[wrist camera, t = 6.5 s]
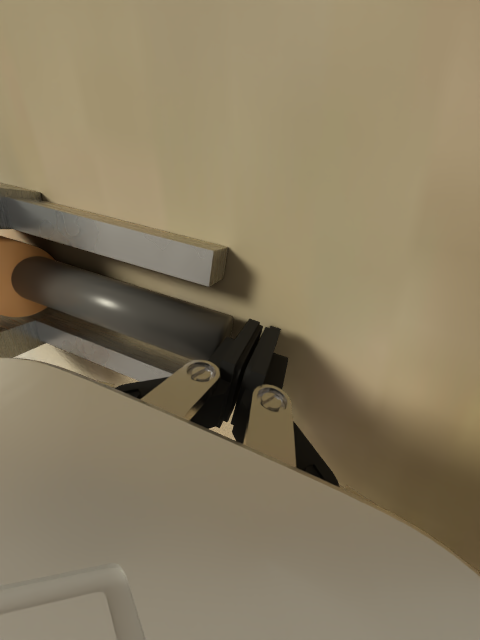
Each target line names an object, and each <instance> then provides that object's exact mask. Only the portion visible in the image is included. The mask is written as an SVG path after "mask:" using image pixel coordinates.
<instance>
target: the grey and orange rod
mask: <svg viewBox="0 0 480 640" xmlns="http://www.w3.org/2000/svg"><path fill="white" fill-rule="evenodd" d="M47 307H50V308H52V309H55V310H58V311H61V312H63V313H66V314H69V315H71V316H74V317H77V318H80V319H82V320H85V321H88V322H90V323H93V324H96V325H99V326H101V327H104V328H107V329H109V330H112V331H115V332H118V333H120V334H123V335H126V336H129V337H131V338H134V339H137V340H139V341H142V342H145V343H148V344H150V345H153V346H156V347H158V348H161V349H164V350H167V351H169V352H172V353H175V354H177V355H180V356H183V357H186V358H188V359H191V360H206V361H208V360H209V358H210V357H211V356H212V354H213V353H214V352H215V351H216V349H217V348H218V347H219V346H220V344H221V343H222V342H223V341H224V339H225V338H226V337H229V338H231V334H232V329H233V317H232V316H230V315H227V314H224V313H221V312H217V311H214V310H211V309H208V308H205V307H201V306H198V305H195V304H192V303H189V302H186V301H182V300H179V299H176V298H173V297H170V296H166V295H163V294H160V293H157V292H154V291H150V290H147V289H144V288H141V287H138V286H134V285H131V284H128V283H125V282H122V281H119V280H115V279H112V278H109V277H106V276H103V275H99V274H96V273H93V272H90V271H87V270H83V269H80V268H77V267H74V266H71V265H68V264H64V263H61V262H58V261H55V260H54V259H53V257H52V256H51V255H49V254H48V253H47V252H45V251H44V250H42V249H40V248H38V247H35V246H32V245H29V244H26V243H23V242H19V241H16V240H13V239H9V238H6V237H3V236H0V315H3V316H7V317H25V316H30V315H33V314H36V313H38V312H40V311H42V310H44V309H45V308H47Z"/></svg>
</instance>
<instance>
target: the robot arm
mask: <svg viewBox="0 0 480 640" xmlns="http://www.w3.org/2000/svg"><path fill="white" fill-rule="evenodd" d="M259 324H260V322H258V321H255V320H252V319H249V320H248V322H247V323H246V325H245V326H244V328H243V329H242V330H241V332H240V333H239V335H238V336H237V338H236V339H232V338H229V337H226V338H225V339H224V341H223V342H222V343H221V344H220V346H219V347H218V348H217V349H216V351H215V352H214V353H213V354H212V356H211V357H210V358H209V360H208V361H206V360H194V361H190V362H189V363H187V364H185V365H184V366H183V367H182V368H180V369H179V370H178V371H176V372H175V373H174V374H172V375H171V376H170V377H164V378H158V379H152V380H146V381H141V382H135V383H129V384H124V385H121V386H118V387H116V388H114V384H111V383H106V382H101V381H96V380H93V379H91V378H88V377H86V376H83V375H81V374H78V373H75V372H73V371H70V370H67V369H65V368H62V367H59V366H55V365H52V364H48V363H45V362H40V361H35V360H29V359H20V358H0V640H480V573H479V572H478V571H476V570H475V569H474V568H473V567H472V566H470V565H469V564H468V563H467V562H465V561H464V560H463V559H462V558H460V557H459V556H458V555H456V554H455V553H454V552H453V551H451V550H450V549H449V548H448V547H446V546H445V545H443V544H442V543H440V542H439V541H437V540H436V539H434V538H433V537H431V536H430V535H429V534H427V533H426V532H424V531H423V530H421V529H420V528H418V527H416V526H415V525H413V524H411V523H409V522H408V521H406V520H404V519H402V518H401V517H399V516H397V515H396V514H394V513H392V512H390V511H387V510H385V509H383V508H381V507H379V506H378V505H376V504H375V503H373V502H372V501H370V500H369V499H367V498H366V497H364V496H363V495H361V494H360V493H358V492H357V491H355V490H354V489H352V488H351V487H349V486H348V485H347V486H346V487H345V488H344V487H342V486H341V485H339V484H338V481H337V479H336V477H335V476H334V474H333V472H332V471H331V470H330V468H329V467H328V466H327V464H326V463H325V462H324V460H323V459H322V458H321V457H320V455H319V454H318V453H317V451H316V450H315V449H314V447H313V446H312V445H311V443H310V442H309V441H308V440H307V438H306V437H305V436H304V434H303V433H302V432H301V430H300V429H299V428H298V426H297V425H296V424H295V423H294V421H293V414H292V403H291V399H290V398H289V396H288V395H287V394H286V393H285V392H284V391H283V390H282V387H283V382H284V377H285V372H286V367H287V362H288V358H287V357H284V356H281V355H278V354H276V353H273V352H274V349H275V346H276V343H277V340H278V336H279V333H280V330H281V329H279V328H276V327H273V326H270V328H267V327H266V328H265V330H264V332H263V334H262V336H261V338H260V335H261V332H262V328H263V326H261V325H259ZM259 339H260V340H259ZM235 404H236V406H235ZM234 406H235V410H234V413H233V417H232V421H231V424H232V425H234V427H233V430H232V433H233V435H234V437H235V439H236V441H235V440H232V439H230V438H228V437H225V436H223V435H221V434H219V433H216V432H214V431H212V430H209V428H212V427H215V426H216V427H218V428H220V427H221V424H222V422H223V421H225V422H228V420H229V418H230V415H231V413H232V411H233V409H234Z"/></svg>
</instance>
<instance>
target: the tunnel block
mask: <svg viewBox="0 0 480 640" xmlns="http://www.w3.org/2000/svg"><path fill="white" fill-rule="evenodd" d="M0 229H14V230H18V231H21V232H25V233H28V234H31V235H35V236H38V237H42V238H45V239H48V240H52V241H55V242H59V243H62V244H65V245H69V246H72V247H76V248H79V249H82V250H86V251H89V252H93V253H96V254H99V255H103V256H106V257H110V258H113V259H116V260H120V261H123V262H127V263H130V264H133V265H137V266H140V267H144V268H147V269H150V270H154V271H157V272H161V273H164V274H167V275H171V276H174V277H178V278H181V279H184V280H188V281H191V282H194V283H198V284H201V285H205V286H208V287H209V286H211V285H213V284H214V283H216V282H218V281H219V280H221V279H223V276H224V270H225V264H226V258H227V252H228V247H225V246H221V245H217V244H214V243H210V242H206V241H202V240H198V239H194V238H190V237H186V236H182V235H178V234H174V233H170V232H166V231H162V230H158V229H154V228H150V227H146V226H142V225H138V224H134V223H130V222H126V221H122V220H119V219H115V218H111V217H107V216H103V215H99V214H95V213H91V212H87V211H83V210H79V209H75V208H71V207H67V206H63V205H59V204H55V203H51V202H47V201H43V200H42V198H41V193H40V192H36V191H32V190H28V189H24V188H20V187H16V186H12V185H8V184H3V183H0ZM45 343H48V344H50V345H53V346H55V347H57V348H60V349H62V350H65V351H67V352H70V353H72V354H75V355H77V356H79V357H82V358H84V359H87V360H89V361H92V362H94V363H97V364H99V365H101V366H104V367H106V368H109V369H111V370H114V371H116V372H118V373H121V374H123V375H126V376H128V377H131V378H133V379H136V380H138V381H140V382H141V381H146V380H152V379H158V378H164V377H170V376H171V375H172V374H174V373H175V372H176V371H178V370H179V369H180V368H182V367H183V366H184V365H185V364H187V363H189V362H190V361H194V360H191V359H188V358H186V357H183V356H180V355H177V354H175V353H172V352H169V351H167V350H164V349H161V348H158V347H156V346H153V345H150V344H148V343H145V342H142V341H139V340H137V339H134V338H131V337H129V336H126V335H123V334H120V333H118V332H115V331H112V330H109V329H107V328H104V327H101V326H99V325H96V324H93V323H90V322H88V321H85V320H82V319H80V318H77V317H74V316H71V315H69V314H66V313H63V312H61V311H58V310H55V309H52V308H50V307H47V308H45V309H44V310H42V311H40V312H38V313H36V314H33V315H30V316H25V317H7V316H3V315H0V358H13V357H15V356H18V355H20V354H22V353H24V352H27V351H29V350H31V349H34V348H36V347H38V346H40V345H43V344H45Z"/></svg>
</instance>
